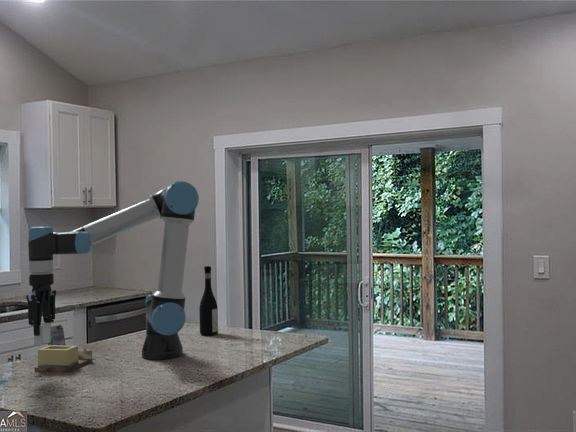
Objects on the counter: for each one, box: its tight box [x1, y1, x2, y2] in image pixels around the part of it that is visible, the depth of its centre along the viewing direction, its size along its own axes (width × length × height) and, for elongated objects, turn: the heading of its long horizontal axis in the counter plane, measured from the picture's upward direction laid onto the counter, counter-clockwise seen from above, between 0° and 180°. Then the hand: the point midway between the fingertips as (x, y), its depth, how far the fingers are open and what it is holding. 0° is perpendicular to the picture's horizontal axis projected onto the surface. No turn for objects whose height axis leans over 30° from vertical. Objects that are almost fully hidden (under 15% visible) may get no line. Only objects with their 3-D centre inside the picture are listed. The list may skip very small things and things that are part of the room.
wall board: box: [34, 348, 93, 373], centre depth 207 cm, size 13×15×5 cm
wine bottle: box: [199, 265, 219, 337], centre depth 259 cm, size 8×8×30 cm
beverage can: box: [47, 324, 66, 346], centre depth 222 cm, size 6×7×12 cm
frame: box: [37, 344, 79, 368], centre depth 204 cm, size 11×7×6 cm, turn 79°
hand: (42, 343), depth 195 cm, fingers open, 4 cm apart
